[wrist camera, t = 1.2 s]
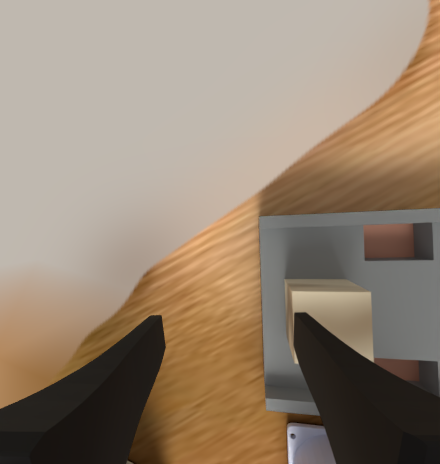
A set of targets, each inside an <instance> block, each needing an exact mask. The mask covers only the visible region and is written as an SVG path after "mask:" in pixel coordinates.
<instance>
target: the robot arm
mask: <svg viewBox="0 0 440 464" xmlns="http://www.w3.org/2000/svg"><path fill="white" fill-rule="evenodd" d="M293 346H294V349H295V353H296V356H297V360H298V363H299V366H300V368H301V371H302V373H303V376H304V378H305V381H306V383H307V385H308V388H309V390H310V393H311V395H312V397H313V400H314V402H315V404H316V407H317V409H318V412H319V414H320V417H321V419H322V422H323V425H324V426H318V425H309V424H300V423H289V424H288V425H287V445H288V464H440V397H438V396H436V395H434V394H432V393H430V392H427V391H425V390H423V389H421V388H419V387H417V386H415V385H413V384H411V383H409V382H407V381H405V380H403V379H402V378H400V377H398V376H396V375H394V374H392V373H390V372H389V371H387V370H385V369H383V368H382V367H380V366H378V365H377V364H375V363H374V362H372V361H370V360H369V359H367V358H366V357H364V356H362V355H361V354H359V353H358V352H356V351H355V350H354V349H352V348H351V347H349V346H348V345H347V344H345V343H344V342H343V341H341V340H340V339H339V338H337V337H336V336H335V335H333V334H332V333H331V332H330V331H328V330H327V329H326V328H325V327H323V326H322V325H321V324H320V323H319V322H317V321H316V320H315V319H314V318H313V317H311V316H310V315H309V314H308V313H306V312H294V341H293ZM165 348H166V346H165V338H164V331H163V323H162V316H161V315H152V316H149V317H148V318H147V319H146V320H144V321H143V322H142V323H141V324H140V325H138V326H137V327H136V328H135V329H134V330H132V331H131V332H130V333H129V334H128V335H126V336H125V337H124V338H123V339H121V340H120V341H119V342H117V343H116V344H115V345H114V346H112V347H111V348H110V349H108V350H107V351H106V352H104V353H103V354H102V355H100V356H99V357H97V358H96V359H94V360H93V361H91V362H90V363H88V364H87V365H85V366H84V367H82V368H80V369H79V370H77V371H75V372H73V373H72V374H70V375H68V376H67V377H65V378H63V379H61V380H60V381H58V382H56V383H54V384H52V385H50V386H48V387H46V388H45V389H43V390H41V391H39V392H37V393H34V394H32V395H30V396H28V397H26V398H24V399H22V400H20V401H18V402H15V403H13V404H11V405H8V406H6V407H4V408H1V409H0V464H126V463H127V460H128V456H129V453H130V449H131V446H132V443H133V439H134V436H135V433H136V430H137V426H138V423H139V420H140V417H141V415H142V412H143V409H144V407H145V404H146V402H147V399H148V397H149V394H150V392H151V389H152V387H153V384H154V382H155V379H156V377H157V374H158V372H159V369H160V366H161V363H162V359H163V355H164V352H165ZM291 434H294V435H291Z"/></svg>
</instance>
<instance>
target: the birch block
mask: <svg viewBox="0 0 440 464" xmlns="http://www.w3.org/2000/svg"><path fill="white" fill-rule="evenodd" d="M284 282H285V310H286V336H287V340H288V343H289V346H290V350H291V353H292V356H293V360H294V363H296V364H299V363H298V360H297V356H296V353H295V349H294V346H293V341H294V312H306V313H308V314H309V315H310V316H311V317H313V318H314V319H315V320H316V321H317V322H319V323H320V324H321V325H322V326H323V327H325V328H326V329H327V330H328V331H330V332H331V333H332V334H333V335H335V336H336V337H337V338H339V339H340V340H341V341H343V342H344V343H345V344H347V345H348V346H349V347H351V348H352V349H354V350H355V351H356V352H358V353H359V354H361V355H362V356H364V357H366V358H367V359H369V360H370V361H372V362H374V357H373V331H372V305H371V292H370V291H368V290H366V289H364V288H362V287H360V286H358V285H356V284H354V283H352V282H350V281H349V280H347V279H284Z"/></svg>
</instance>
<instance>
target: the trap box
mask: <svg viewBox="0 0 440 464" xmlns="http://www.w3.org/2000/svg"><path fill="white" fill-rule="evenodd" d="M259 242H260V270H261V298H262V326H263V355H264V381H265V398H266V410H267V411H277V412H287V413H297V414H307V415H317V416H320V414H319V412H318V409H317V407H316V404H315V402H314V400H313V397H312V395H311V393H310V390H309V388H308V385H307V383H306V381H305V378H304V376H303V373H302V371H301V368H300V366H299V364H296V363H294V360H293V356H292V353H291V350H290V346H289V343H288V340H287V336H286V310H285V282H284V279H347V280H349V281H350V282H352V283H354V284H356V285H358V286H360V287H362V288H364V289H366V290H368V291H370V292H371V305H372V331H373V357H374V363H375V364H377V365H378V366H380V367H382V368H383V369H385V370H387V371H389V372H390V373H392V374H394V375H396V376H398V377H400V378H402V379H403V380H405V381H407V382H409V383H411V384H413V385H415V386H417V387H419V388H421V389H423V390H425V391H427V392H430V393H432V394H434V395H436V396H438V397H440V208H432V209H410V210H389V211H367V212H345V213H323V214H302V215H280V216H259Z"/></svg>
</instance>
